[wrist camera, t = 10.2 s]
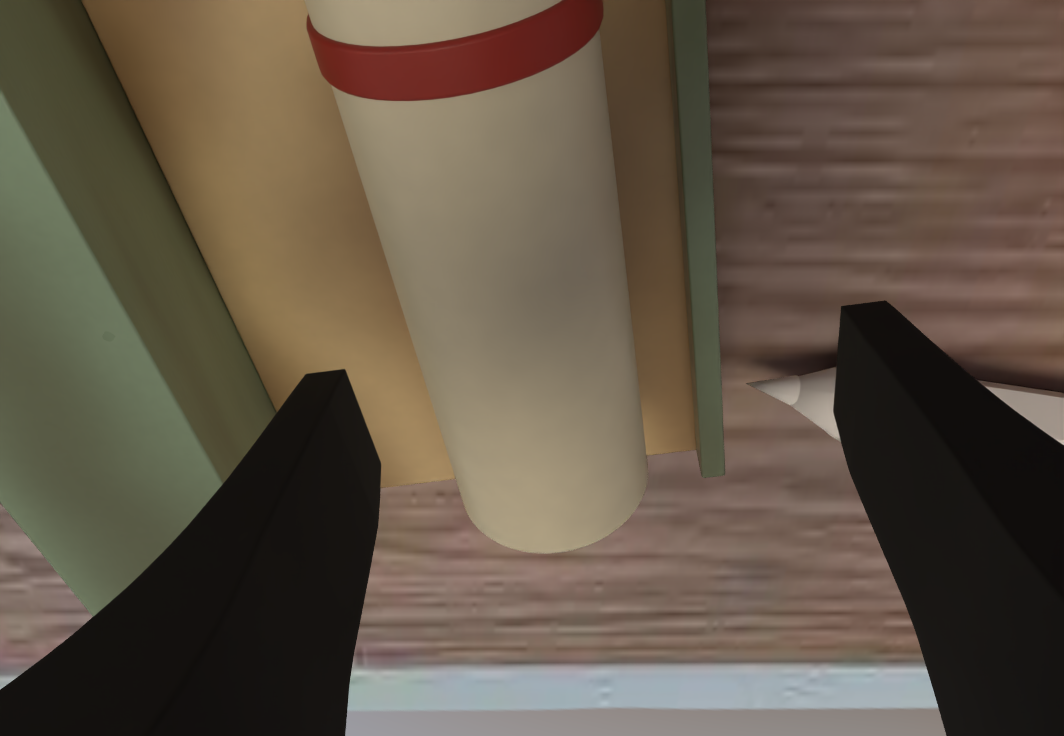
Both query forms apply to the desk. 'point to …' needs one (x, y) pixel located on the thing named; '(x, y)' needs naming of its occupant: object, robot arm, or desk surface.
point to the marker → (1041, 407)
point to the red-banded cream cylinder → (501, 247)
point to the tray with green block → (268, 261)
